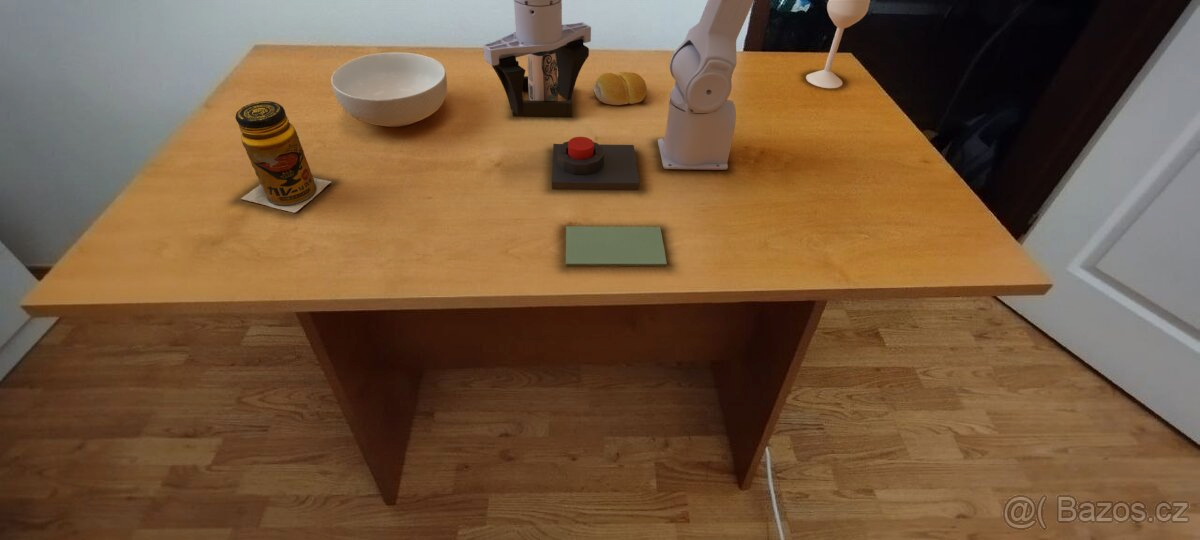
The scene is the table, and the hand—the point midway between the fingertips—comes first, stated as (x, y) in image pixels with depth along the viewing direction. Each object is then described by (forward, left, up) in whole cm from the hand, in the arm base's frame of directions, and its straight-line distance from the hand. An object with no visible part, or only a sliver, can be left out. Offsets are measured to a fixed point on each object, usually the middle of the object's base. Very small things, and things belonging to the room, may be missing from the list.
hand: (541, 104), depth 78 cm
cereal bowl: (+24, -13, -9) cm, 29 cm away
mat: (-9, +19, -9) cm, 23 cm away
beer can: (+1, -18, -9) cm, 20 cm away
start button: (-5, +2, -7) cm, 9 cm away
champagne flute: (-51, -29, -9) cm, 60 cm away
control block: (-7, +2, -9) cm, 12 cm away
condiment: (+34, +8, -9) cm, 36 cm away
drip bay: (+1, -18, -9) cm, 20 cm away
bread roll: (-12, -21, -9) cm, 26 cm away
